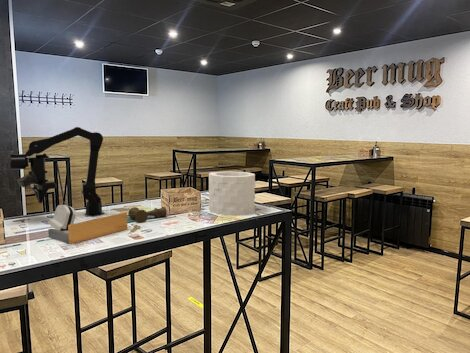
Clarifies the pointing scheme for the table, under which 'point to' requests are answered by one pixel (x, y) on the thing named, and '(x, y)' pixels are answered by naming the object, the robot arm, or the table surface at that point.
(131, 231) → the brass key
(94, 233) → the wooden rectangular panel
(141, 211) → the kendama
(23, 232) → the table surface
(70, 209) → the hinge
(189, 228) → the table surface
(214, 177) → the basket
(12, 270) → the table surface
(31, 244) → the table surface
